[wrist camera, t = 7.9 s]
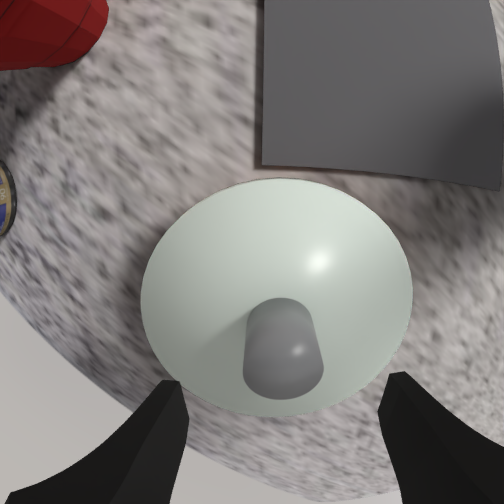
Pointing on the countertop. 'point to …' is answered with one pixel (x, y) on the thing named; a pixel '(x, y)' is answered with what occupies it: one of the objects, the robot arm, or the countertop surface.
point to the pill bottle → (6, 198)
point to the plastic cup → (48, 31)
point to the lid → (276, 297)
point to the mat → (384, 88)
